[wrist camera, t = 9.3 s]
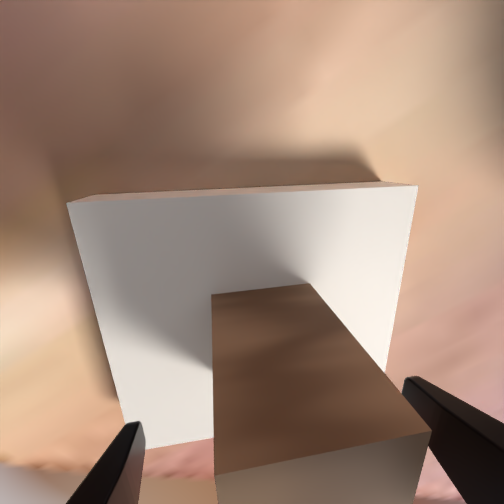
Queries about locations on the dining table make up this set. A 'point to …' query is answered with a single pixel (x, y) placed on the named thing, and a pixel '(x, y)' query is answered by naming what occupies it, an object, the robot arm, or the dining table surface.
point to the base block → (229, 278)
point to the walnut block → (305, 407)
